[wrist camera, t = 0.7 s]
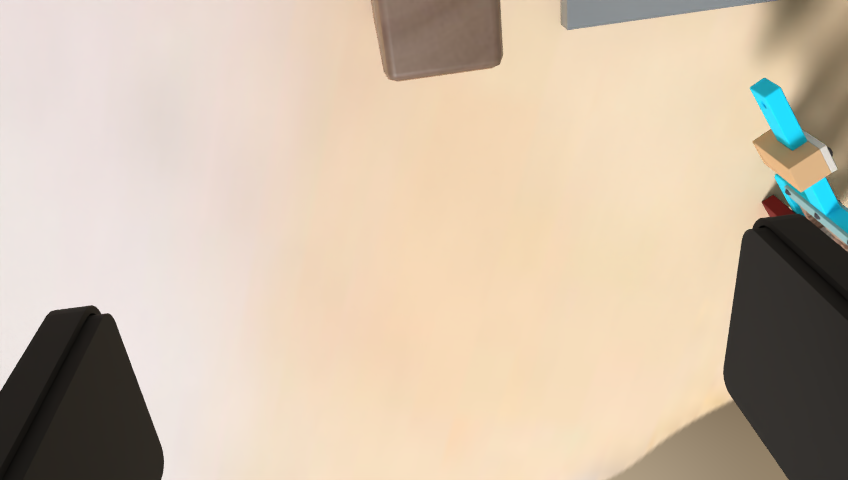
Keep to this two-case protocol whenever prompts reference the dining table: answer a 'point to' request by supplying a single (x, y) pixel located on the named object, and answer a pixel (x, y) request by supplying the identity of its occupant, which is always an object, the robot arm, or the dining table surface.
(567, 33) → the dining table surface
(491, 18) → the wooden block
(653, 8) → the baseplate
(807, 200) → the gear mechanism
